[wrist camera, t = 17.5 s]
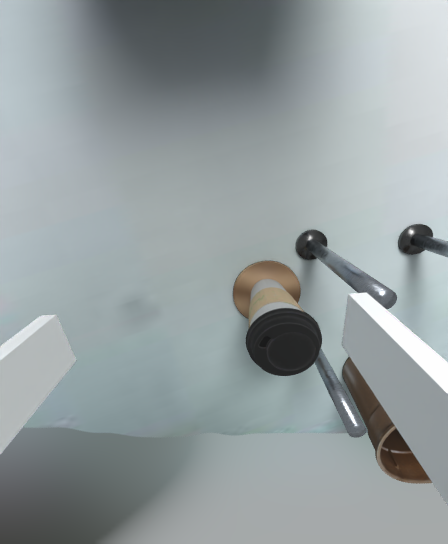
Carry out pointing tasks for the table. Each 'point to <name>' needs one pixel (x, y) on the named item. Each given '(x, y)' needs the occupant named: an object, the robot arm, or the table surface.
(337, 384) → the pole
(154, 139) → the table surface
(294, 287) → the coaster
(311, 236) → the pole corner
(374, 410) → the plant pot
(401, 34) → the table surface
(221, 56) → the table surface
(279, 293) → the coffee cup
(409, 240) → the pole outer
